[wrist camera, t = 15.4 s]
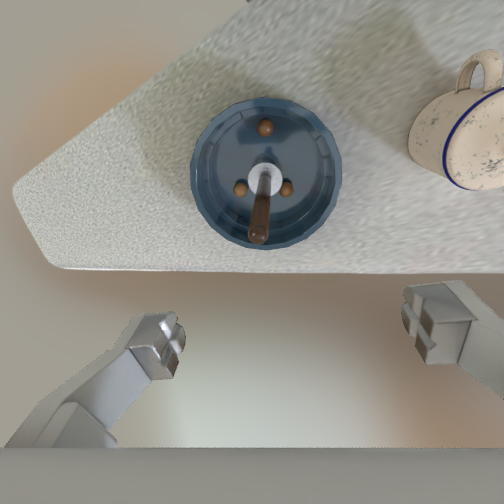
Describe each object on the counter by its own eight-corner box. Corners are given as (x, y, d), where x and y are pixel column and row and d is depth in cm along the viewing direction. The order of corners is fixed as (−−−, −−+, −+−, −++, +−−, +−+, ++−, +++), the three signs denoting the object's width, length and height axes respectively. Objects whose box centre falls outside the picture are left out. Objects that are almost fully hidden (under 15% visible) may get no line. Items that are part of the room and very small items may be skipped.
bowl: (184, 117, 32) (167, 121, 27) (327, 80, 29) (338, 76, 24) (222, 237, 41) (214, 258, 36) (335, 219, 37) (344, 239, 32)
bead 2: (260, 121, 31) (253, 117, 30) (275, 119, 30) (269, 115, 29) (261, 138, 32) (254, 136, 30) (275, 137, 31) (269, 134, 29)
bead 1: (230, 183, 34) (244, 180, 33) (234, 184, 36) (247, 182, 35) (232, 198, 34) (246, 195, 33) (236, 199, 36) (250, 196, 35)
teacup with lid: (485, 156, 31) (580, 184, 22) (405, 179, 34) (460, 213, 24) (498, 39, 26) (637, 4, 16) (402, 75, 28) (471, 64, 18)
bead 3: (296, 192, 35) (287, 181, 35) (296, 188, 33) (286, 176, 33) (284, 201, 35) (276, 190, 35) (283, 197, 33) (274, 186, 33)
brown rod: (246, 161, 33) (221, 216, 18) (279, 154, 33) (282, 206, 17) (253, 192, 36) (236, 266, 20) (284, 186, 35) (291, 259, 19)
